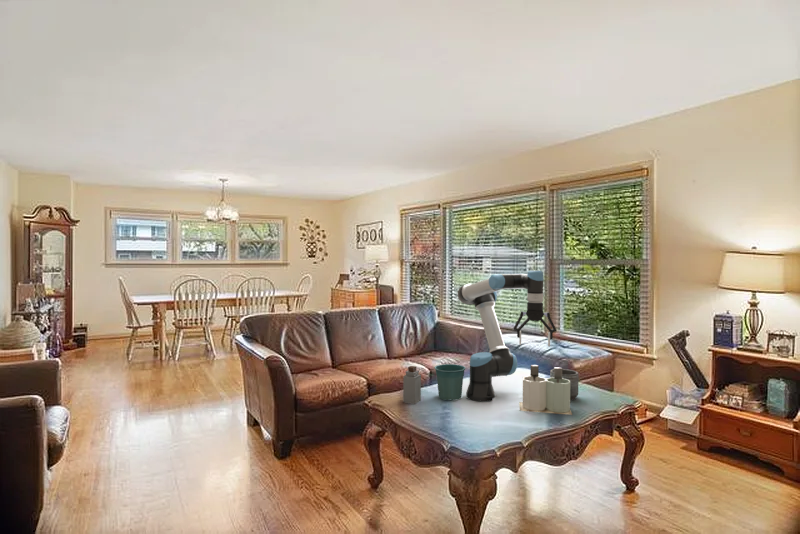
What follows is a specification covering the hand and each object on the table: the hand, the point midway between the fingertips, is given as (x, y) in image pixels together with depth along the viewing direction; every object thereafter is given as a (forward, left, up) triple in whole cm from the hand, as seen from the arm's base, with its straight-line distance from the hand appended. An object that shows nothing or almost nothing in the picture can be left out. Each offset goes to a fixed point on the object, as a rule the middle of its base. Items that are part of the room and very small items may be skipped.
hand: (534, 345), depth 231 cm
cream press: (0, +1, -31) cm, 31 cm away
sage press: (+11, +1, -31) cm, 33 cm away
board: (+5, 0, -32) cm, 32 cm away
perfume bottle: (-61, -2, -32) cm, 69 cm away
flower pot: (-43, +10, -32) cm, 54 cm away
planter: (+16, +21, -32) cm, 41 cm away
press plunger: (0, 0, -26) cm, 26 cm away
